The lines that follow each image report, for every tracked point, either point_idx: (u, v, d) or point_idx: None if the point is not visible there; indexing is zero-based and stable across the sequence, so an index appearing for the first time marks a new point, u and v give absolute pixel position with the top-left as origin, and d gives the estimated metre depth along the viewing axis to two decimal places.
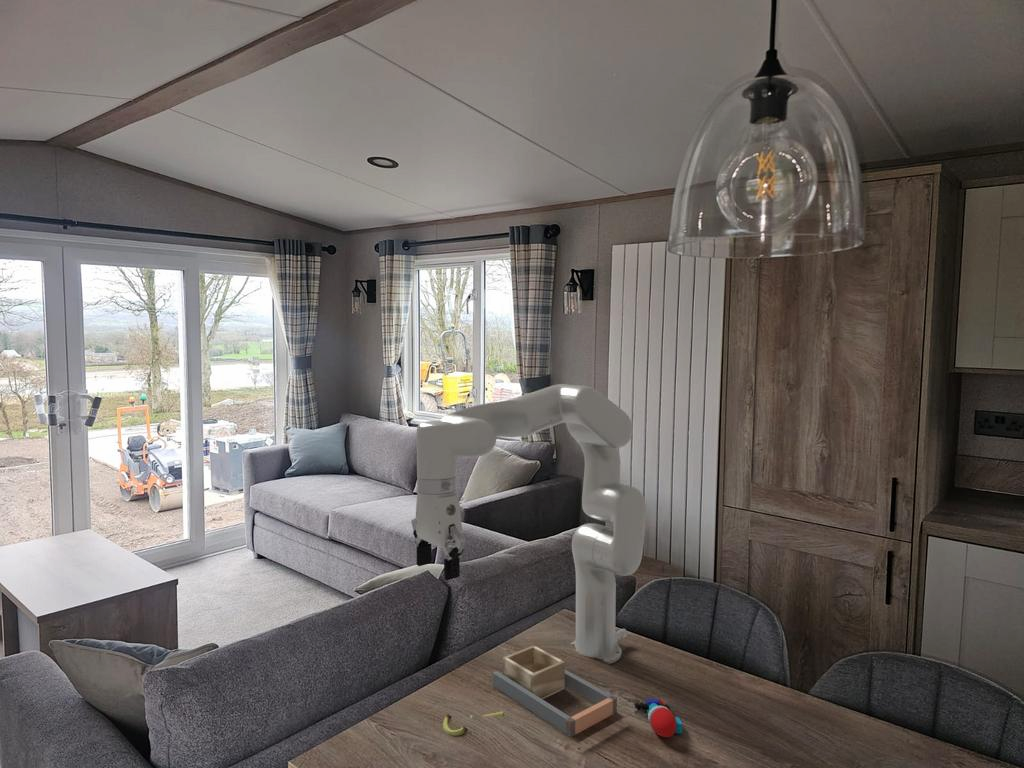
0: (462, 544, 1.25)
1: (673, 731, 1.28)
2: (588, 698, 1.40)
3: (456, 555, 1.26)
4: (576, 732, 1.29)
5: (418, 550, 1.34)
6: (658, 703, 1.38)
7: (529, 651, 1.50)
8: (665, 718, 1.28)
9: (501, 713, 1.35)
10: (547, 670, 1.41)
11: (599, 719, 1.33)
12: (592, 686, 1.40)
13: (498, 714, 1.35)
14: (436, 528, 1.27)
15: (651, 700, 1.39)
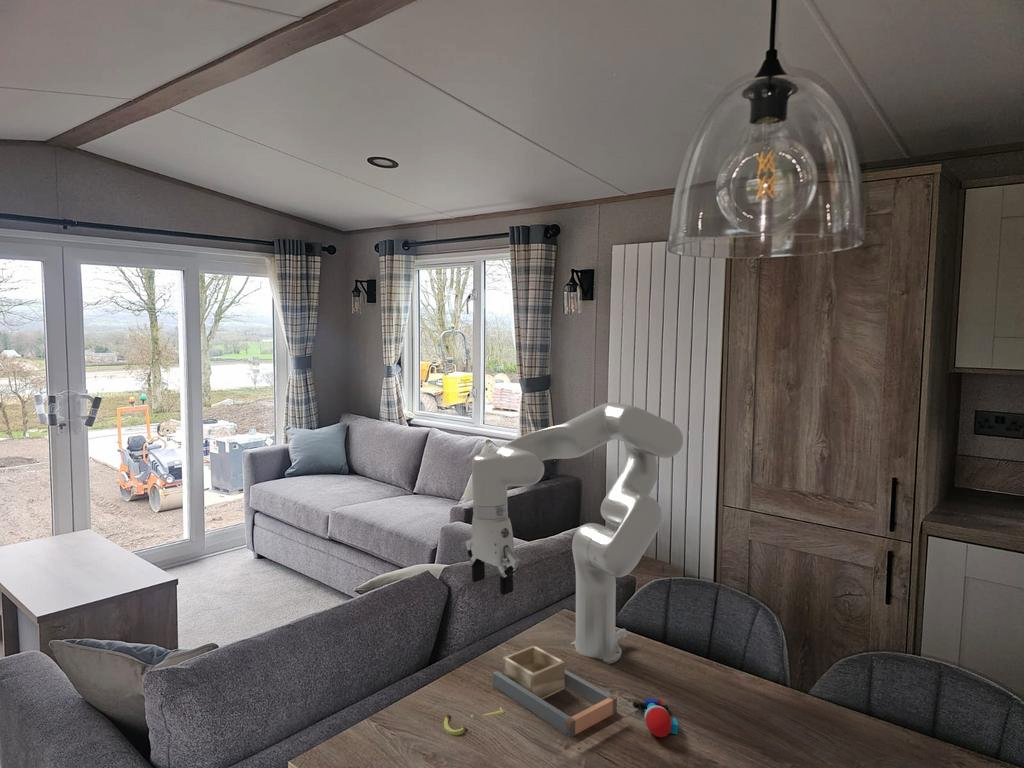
0: (516, 563, 1.41)
1: (668, 731, 1.28)
2: (588, 698, 1.40)
3: (511, 573, 1.42)
4: (576, 732, 1.29)
5: (473, 568, 1.50)
6: (657, 703, 1.38)
7: (529, 651, 1.50)
8: (659, 718, 1.29)
9: (501, 712, 1.36)
10: (547, 670, 1.41)
11: (599, 719, 1.33)
12: (592, 686, 1.40)
13: (498, 713, 1.35)
14: (492, 549, 1.43)
15: (650, 700, 1.39)
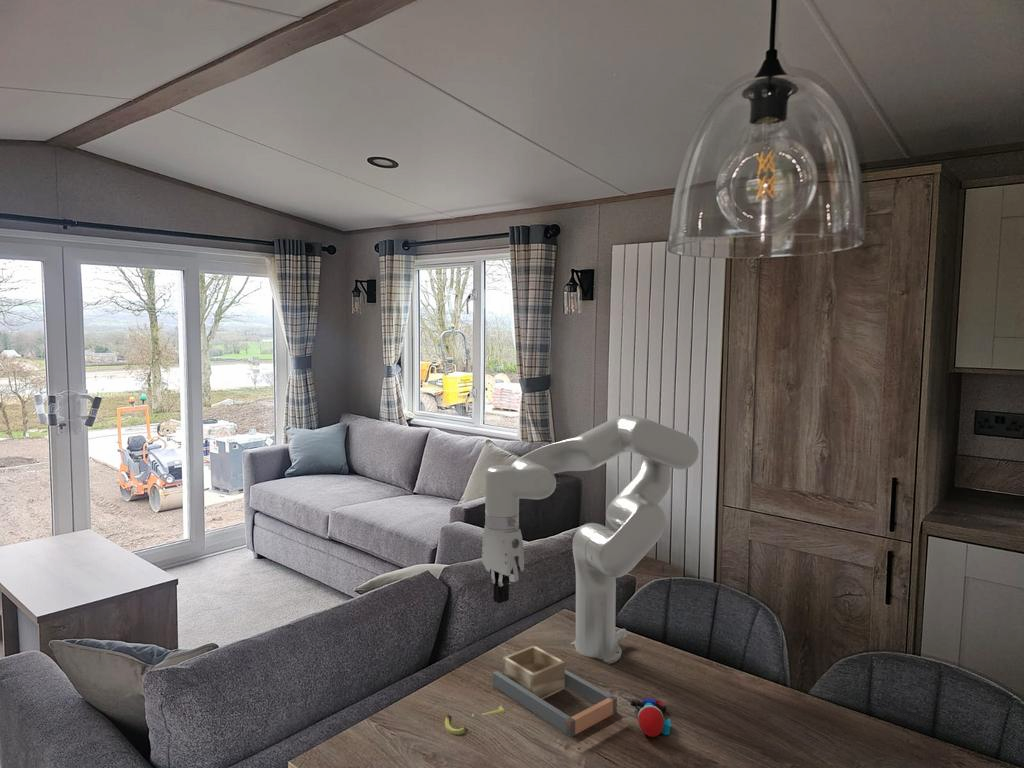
0: None
1: (657, 731, 1.28)
2: (588, 698, 1.40)
3: (507, 582, 1.50)
4: (576, 732, 1.29)
5: (495, 587, 1.51)
6: (654, 703, 1.38)
7: (529, 651, 1.50)
8: (650, 717, 1.29)
9: (502, 710, 1.36)
10: (547, 670, 1.41)
11: (599, 719, 1.33)
12: (592, 686, 1.40)
13: (499, 711, 1.36)
14: (502, 559, 1.47)
15: (648, 700, 1.39)
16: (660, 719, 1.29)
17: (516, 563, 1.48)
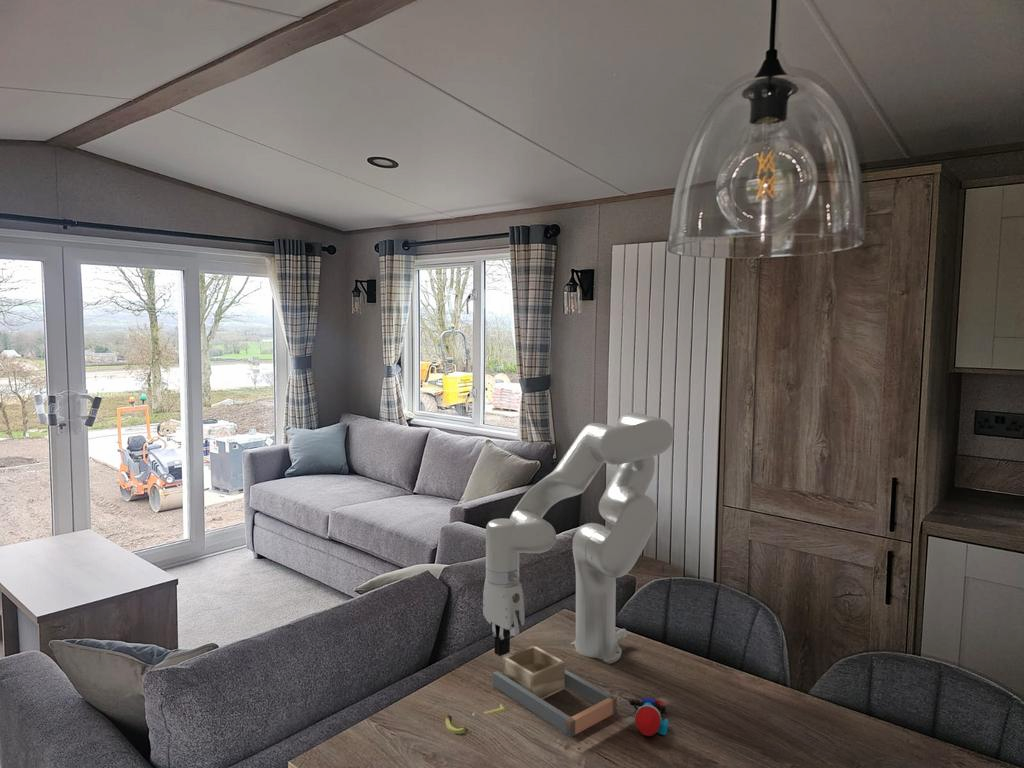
0: None
1: (653, 731, 1.28)
2: (588, 698, 1.40)
3: (508, 636, 1.51)
4: (576, 732, 1.29)
5: (496, 640, 1.52)
6: (653, 703, 1.38)
7: (529, 651, 1.50)
8: (646, 716, 1.29)
9: (503, 709, 1.37)
10: (547, 670, 1.41)
11: (599, 719, 1.33)
12: (592, 686, 1.40)
13: (500, 710, 1.36)
14: (503, 613, 1.49)
15: (647, 699, 1.39)
16: (656, 719, 1.29)
17: (517, 617, 1.49)
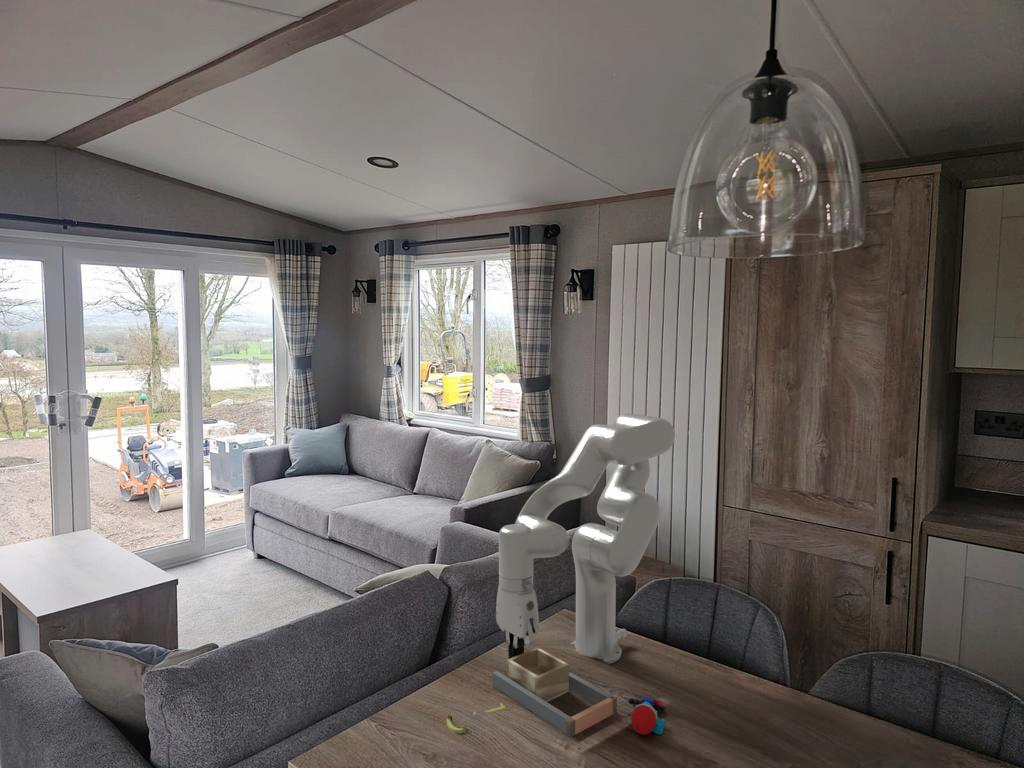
0: None
1: (647, 729, 1.28)
2: (588, 698, 1.40)
3: (522, 644, 1.47)
4: (576, 732, 1.29)
5: (510, 649, 1.49)
6: (652, 703, 1.38)
7: (533, 653, 1.49)
8: (640, 715, 1.29)
9: (503, 707, 1.37)
10: (551, 673, 1.40)
11: (599, 719, 1.33)
12: (592, 686, 1.40)
13: (500, 709, 1.37)
14: (517, 621, 1.45)
15: (646, 699, 1.39)
16: (651, 718, 1.30)
17: (531, 625, 1.46)
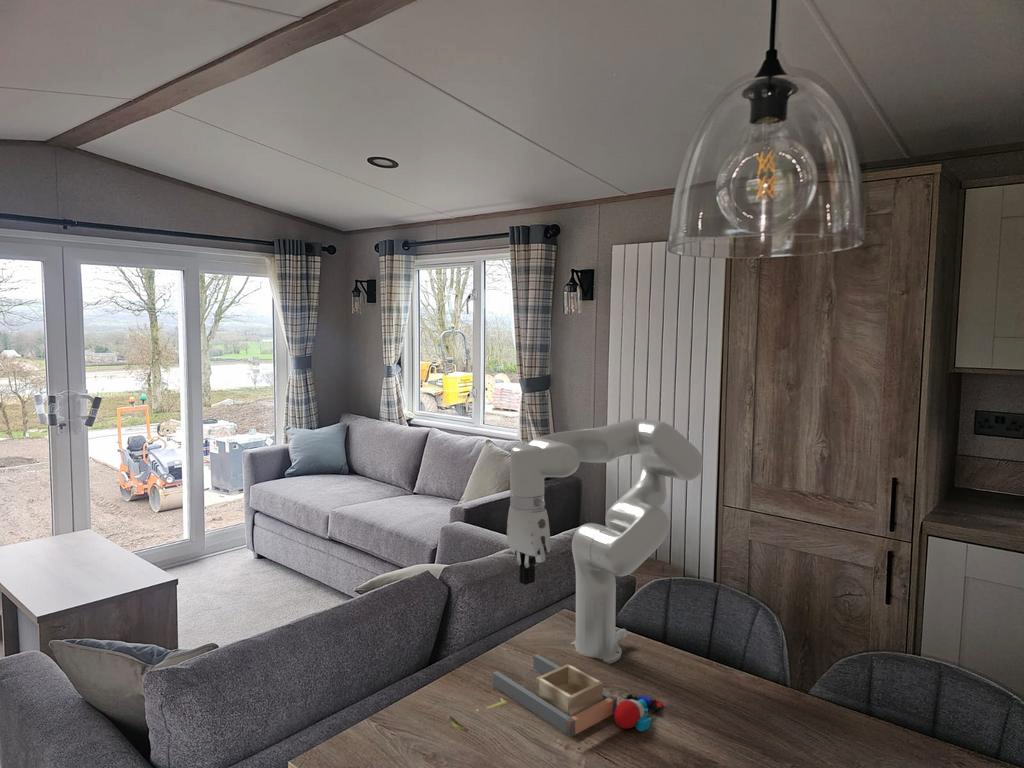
0: (541, 561, 1.46)
1: (624, 723, 1.30)
2: None
3: (533, 563, 1.48)
4: (576, 732, 1.29)
5: (521, 569, 1.49)
6: (647, 701, 1.38)
7: (563, 670, 1.42)
8: (621, 708, 1.32)
9: (505, 702, 1.39)
10: (585, 692, 1.33)
11: (599, 719, 1.33)
12: None
13: (502, 703, 1.39)
14: (529, 539, 1.45)
15: (644, 697, 1.40)
16: (631, 713, 1.31)
17: (542, 543, 1.46)
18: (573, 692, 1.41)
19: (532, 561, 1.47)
